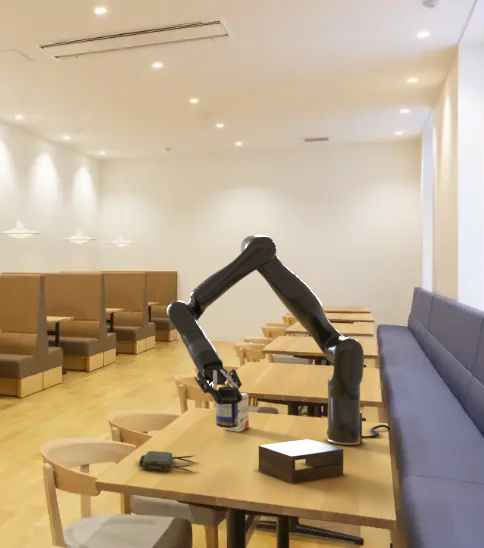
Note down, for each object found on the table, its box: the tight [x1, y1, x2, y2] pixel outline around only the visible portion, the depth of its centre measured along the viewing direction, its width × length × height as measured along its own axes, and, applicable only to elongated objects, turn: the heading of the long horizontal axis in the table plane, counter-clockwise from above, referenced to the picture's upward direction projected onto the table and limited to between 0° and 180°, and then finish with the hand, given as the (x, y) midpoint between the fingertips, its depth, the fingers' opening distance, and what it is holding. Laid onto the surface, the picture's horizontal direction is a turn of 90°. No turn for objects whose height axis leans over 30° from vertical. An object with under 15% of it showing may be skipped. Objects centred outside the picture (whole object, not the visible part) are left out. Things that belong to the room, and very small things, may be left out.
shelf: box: [258, 438, 344, 484], centre depth 195 cm, size 18×12×7 cm, turn 113°
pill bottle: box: [215, 386, 238, 429], centre depth 210 cm, size 6×6×11 cm
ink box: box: [225, 392, 250, 433], centre depth 247 cm, size 8×5×12 cm, turn 140°
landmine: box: [139, 450, 196, 474], centre depth 203 cm, size 14×3×15 cm
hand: (230, 401), depth 209 cm, fingers closed on pill bottle, 6 cm apart
